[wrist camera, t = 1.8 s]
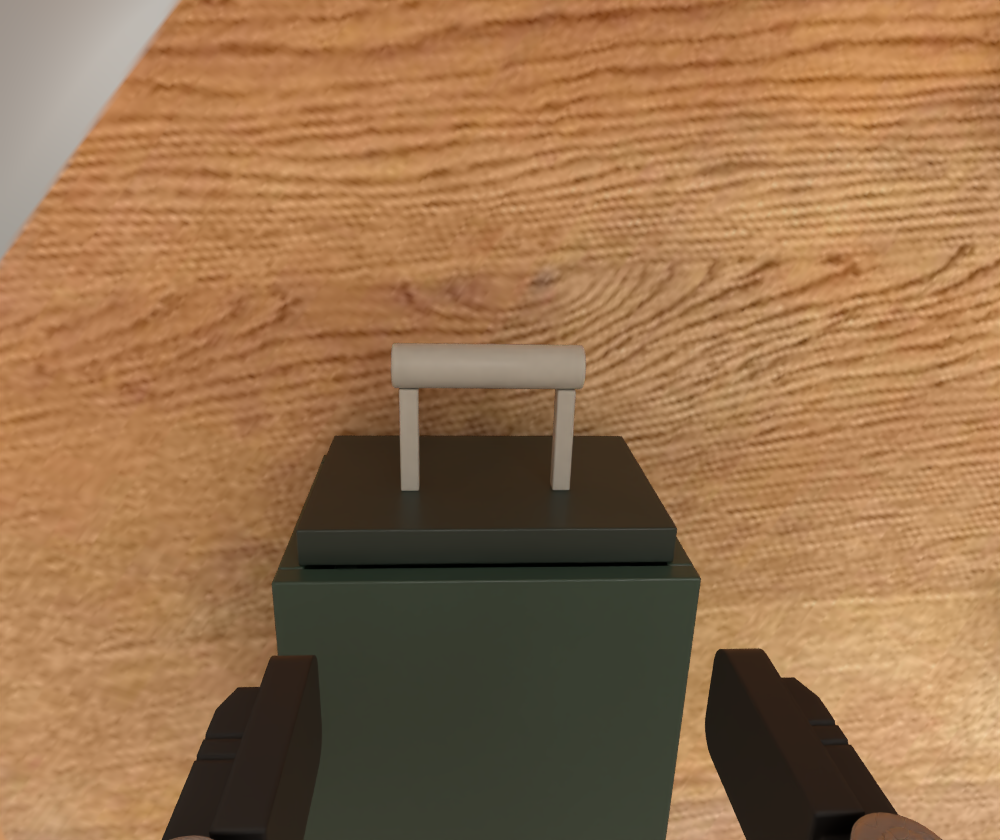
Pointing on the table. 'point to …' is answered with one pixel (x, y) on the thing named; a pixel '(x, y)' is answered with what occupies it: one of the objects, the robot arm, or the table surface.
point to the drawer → (483, 480)
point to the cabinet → (492, 696)
